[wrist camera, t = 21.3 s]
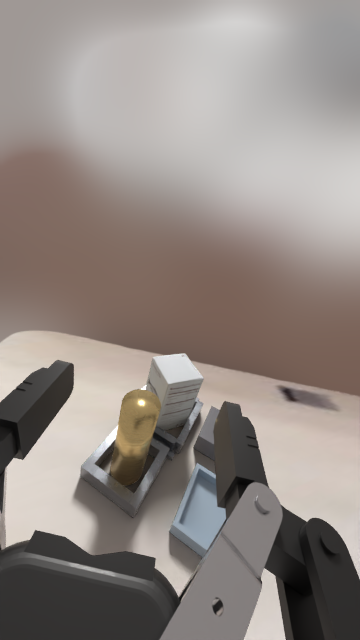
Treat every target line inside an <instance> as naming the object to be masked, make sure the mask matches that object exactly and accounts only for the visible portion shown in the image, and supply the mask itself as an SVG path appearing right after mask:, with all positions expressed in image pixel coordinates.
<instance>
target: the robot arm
mask: <svg viewBox="0 0 360 640" xmlns="http://www.w3.org/2000/svg"><path fill="white" fill-rule="evenodd" d="M73 386H74V365H73V364H72V363H68V362H64V361H60V360H57V361H55V362H54V363H53V364H52V365H51V366H50V367H49V368H48V369H47V368H41V369H39V370H37V371H35V372H33V373H32V374H30V375H29V376H28V377H27V378H26V379H25V380H24V381H23V383H21V384H20V385H19V386H17V387H16V389H14V390H13V391H12V392H11V393H10V394H9V395H8V396H7V397H6V398H4V399H3V400H2V401H1V402H0V640H244V637H245V634H246V631H247V629H248V626H249V623H250V620H251V617H252V615H253V612H254V609H255V606H256V604H257V601H258V598H259V595H260V592H261V588H262V581H261V575H262V572H263V569H264V568H265V569H267V570H268V571H270V572H271V573H272V574H274V575H275V576H276V582H277V588H278V594H279V600H280V606H281V613H282V619H283V625H284V631H285V637H286V640H360V579H359V577H358V574H357V571H356V569H355V566H354V564H353V561H352V559H351V556H350V554H349V551H348V549H347V547H346V545H345V543H344V541H343V539H342V538H341V536H340V535H339V534H338V532H337V531H336V530H335V529H334V528H333V527H332V526H331V525H330V524H328V523H327V522H325V521H324V520H322V519H319V518H312V519H310V520H309V521H308V522H306V521H305V520H303V519H301V518H300V517H298V516H296V515H295V514H293V513H292V512H290V511H288V510H287V509H285V508H284V507H283V506H282V505H281V504H280V502H279V500H278V498H277V497H276V495H275V494H274V493H273V491H272V490H271V489H269V486H268V483H267V479H266V475H265V471H264V467H263V463H262V459H261V454H260V450H259V449H258V448H259V446H258V442H257V440H256V434H255V429H254V427H253V425H252V424H251V422H250V420H249V419H248V418H247V417H243V416H242V413H241V408H240V405H238V404H234V403H230V402H226V401H225V402H224V403H223V405H222V407H221V409H220V412H219V414H218V416H217V418H216V421H215V424H214V451H215V471H216V491H217V507H220V508H224V509H225V511H226V519H225V521H224V522H223V524H222V526H221V527H220V529H219V531H218V532H217V534H216V536H215V537H214V539H213V541H212V543H211V544H210V546H209V548H208V549H207V551H206V553H205V554H204V556H203V558H202V559H201V561H200V563H199V564H198V566H197V567H196V569H195V571H194V572H193V574H192V575H191V577H190V579H189V580H188V582H187V584H186V585H185V587H184V589H183V590H182V592H181V594H180V595H179V597H178V595H177V593H176V591H175V590H174V588H173V587H172V585H171V584H170V582H169V581H168V580H167V578H166V577H165V576H164V575H163V574H162V573H161V572H160V571H158V570H157V569H155V568H154V567H155V559H156V558H153V557H149V556H145V555H140V554H136V553H132V552H127V551H125V552H117V553H110V554H103V555H94V556H93V555H90V554H88V553H87V552H86V551H84V550H83V549H81V548H80V547H78V546H77V545H76V544H74V543H73V542H71V541H70V540H69V539H67V538H66V537H63V536H58V535H54V534H50V533H45V532H41V531H37V530H35V532H34V534H33V536H32V537H31V539H30V540H27V541H23V542H19V543H16V544H14V545H11V546H9V547H6V530H5V500H6V480H7V466H8V464H9V463H10V462H11V460H12V459H13V458H18V459H22V460H23V459H24V458H25V457H26V455H27V454H28V453H29V451H30V450H31V448H32V447H33V446H34V444H35V443H36V442H37V440H38V439H39V438H40V436H41V435H42V433H43V432H44V431H45V429H46V428H47V427H48V425H49V424H50V423H51V421H52V420H53V419H54V417H55V416H56V414H57V413H58V412H59V410H60V409H61V408H62V406H63V405H64V404H65V402H66V401H67V399H68V398H69V397H70V395H71V393H72V390H73Z"/></svg>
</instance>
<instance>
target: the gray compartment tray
mask: <svg viewBox="0 0 360 640" xmlns="http://www.w3.org/2000/svg"><path fill="white" fill-rule="evenodd" d="M145 388H146V386H145V387H144V388H143V390H145ZM202 406H203V403H202V402H200V401H199V398H197V397H196V400H195V402H194V405H193V407H192V410H193V411H192V413H191V415H190V417H189V419H188V420H187V422H186V424H185V426H184V428H183V429H182V431H181V433H180V435H179V437H178V439H177V438H175V437H174V436H172V435H170V434H169V433H167V432H166V431H164V430H162V429H161V428H159V427H157V426H156V427H155V430H154V434H153V437H152V440H151V444H150V447H149V451H148V454H149V455H150V456H152V457H153V458H155V460H154V462H153V463H152V465H151V467H150V468H149V470H148V472H147V473H146V475H145V477H144V478H143V480H142V482H141V483H140V485H139V487H138V488H137V490H136V492H135V493H133V492H132V491H130V490H129V489H128V488H126V487H125V486H123V485H122V484H121V483H119V482H118V481H117V480H115V479H114V478H113V477H111V476H110V475H109V474H107V473H106V472H105V471H103V470H102V469H101V468H99V466H100V465H101V463H102V462H103V461H104V460H105V459H106V457H107V456H108V455H109V454H110V453H111V451H112V450H113V449H114V445H115V440H116V434H117V428H118V426H117V427H116V428H115V430H114V431H113V432H112V433H111V434H110V435H109V436H108V437H107V438H106V439H105V441H104V442H103V443H102V444H101V445H100V446H99V447H98V448H97V449H96V450H95V452H94V453H93V454H92V455H91V456H90V457H89V458H88V459H87V460H86V461H85V462H84V464H83V465H82V466H81V474H80V477H82V478H83V479H84V480H85V481H87V482H88V483H89V484H91V485H92V486H93V487H94V488H96V489H97V490H98V491H100V492H101V493H102V494H103V495H105V496H106V497H107V498H108V499H110V500H111V501H112V502H114V503H115V504H116V505H117V506H119V507H120V508H121V509H122V510H124V511H125V512H126V513H128V514H129V515H130V516H131V517H133V518H134V516H135V515H136V513H137V511H138V509H139V507H140V505H141V504H142V502H143V500H144V498H145V496H146V495H147V493H148V491H149V489H150V487H151V485H152V484H153V482H154V480H155V478H156V476H157V474H158V473H159V471H160V469H161V467H162V465H163V464H164V462H165V460H166V458H168V459H170V460H172V458H173V457H174V454H175V452H176V453H177V454H179V453H180V451H181V449H182V447H183V445H184V443H185V441H186V439H187V437H188V435H189V433H190V431H191V429H192V427H193V425H194V423H195V421H196V419H197V417H198V415H199V413H200V411H201V408H202ZM173 451H174V452H173Z"/></svg>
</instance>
